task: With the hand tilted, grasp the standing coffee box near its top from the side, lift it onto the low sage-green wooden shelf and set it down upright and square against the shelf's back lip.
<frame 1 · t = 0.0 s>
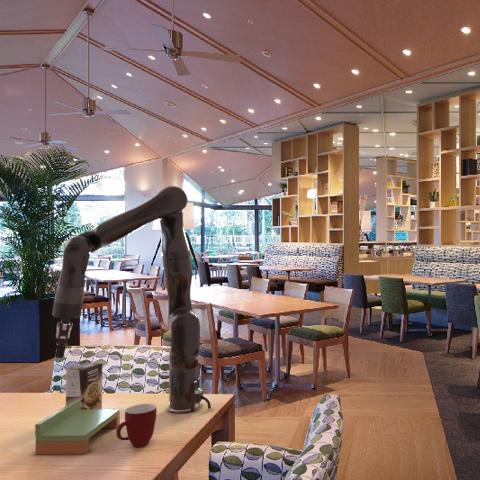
hand: (59, 354, 147), 22 cm above the table, tool pointing down, fingers open, 8 cm apart
shelf: (80, 438, 140), on the table
coffee box: (84, 415, 159), on the table
mug: (136, 446, 135), on the table
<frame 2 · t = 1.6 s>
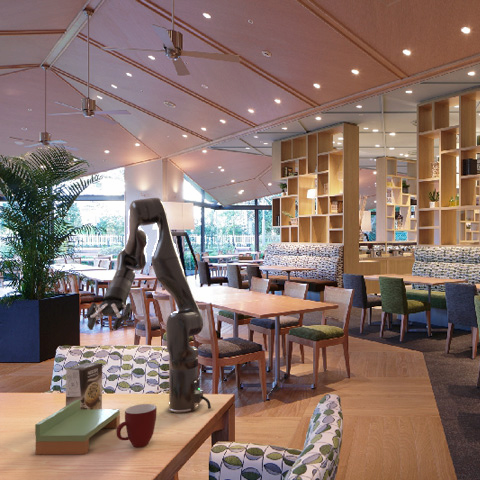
hand: (102, 328, 170), 26 cm above the table, tool tilted 45°, fingers open, 8 cm apart
nothing on the table moved.
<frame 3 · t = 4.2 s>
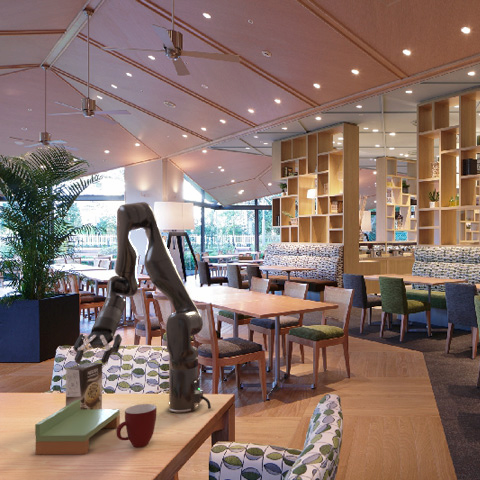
hand: (90, 362, 162), 16 cm above the table, tool tilted 45°, fingers open, 8 cm apart
coffee box: (84, 415, 159), on the table, touching gripper
everything else where it was.
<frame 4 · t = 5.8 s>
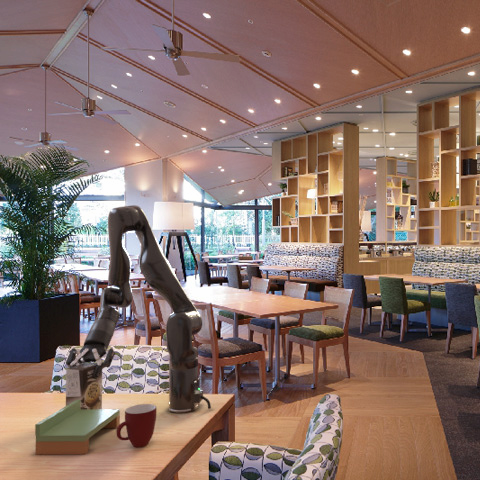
hand: (82, 377, 157), 13 cm above the table, tool tilted 45°, fingers closed on coffee box, 7 cm apart
coffee box: (84, 415, 159), on the table, touching gripper
everything else where it was.
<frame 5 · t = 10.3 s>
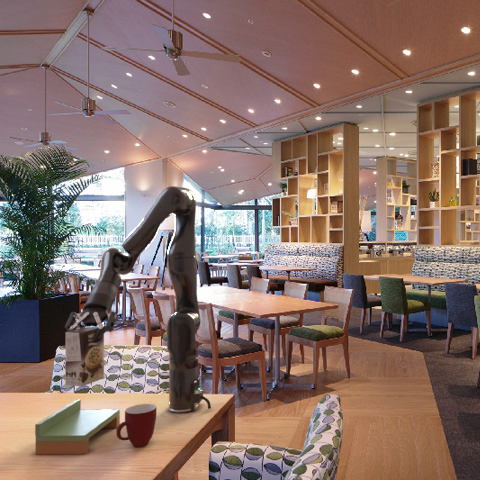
hand: (82, 341, 148), 26 cm above the table, tool tilted 45°, fingers closed on coffee box, 7 cm apart
coffee box: (85, 382, 149), point 13 cm above the table, touching gripper
everything else where it was.
when the fingers open (18 cm above the table, at t = 14.9 s): coffee box stays where it is, resting on shelf.
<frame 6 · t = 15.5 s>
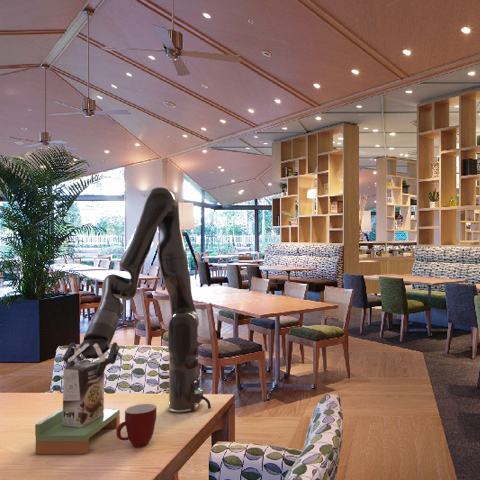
hand: (82, 375, 139), 18 cm above the table, tool tilted 45°, fingers open, 8 cm apart
coffee box: (83, 422, 140), point 5 cm above the table, touching shelf
everything else where it was.
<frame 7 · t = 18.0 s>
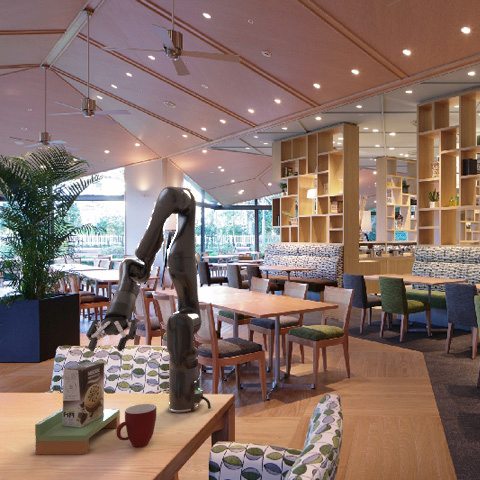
hand: (105, 350, 152), 23 cm above the table, tool tilted 45°, fingers open, 8 cm apart
nothing on the table moved.
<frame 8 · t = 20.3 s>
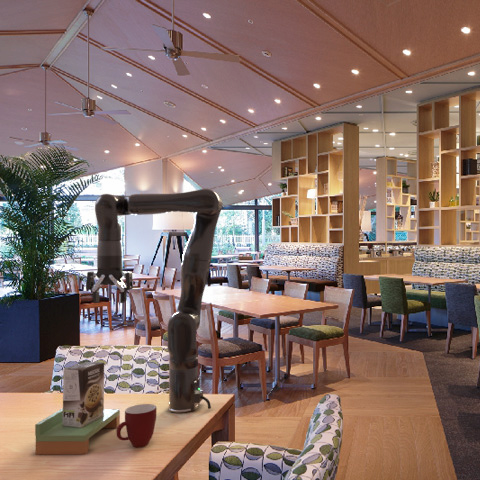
hand: (109, 302, 163), 36 cm above the table, tool pointing down, fingers open, 8 cm apart
nothing on the table moved.
at the end: coffee box inside the target area on the shelf (0.4 cm from its centre), point 4.8 cm above the shelf's base; coffee box tilted 0°; the gripper is holding nothing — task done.
